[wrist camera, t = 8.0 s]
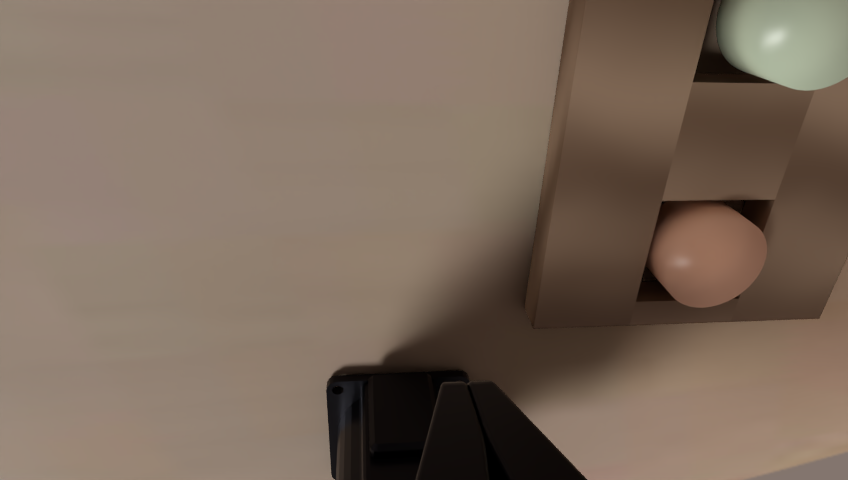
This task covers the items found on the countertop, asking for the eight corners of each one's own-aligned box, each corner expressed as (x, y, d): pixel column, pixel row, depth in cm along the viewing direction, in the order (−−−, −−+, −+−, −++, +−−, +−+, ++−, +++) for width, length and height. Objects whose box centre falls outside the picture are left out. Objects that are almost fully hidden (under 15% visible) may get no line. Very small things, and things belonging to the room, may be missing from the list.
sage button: (810, 74, 19) (864, 91, 17) (701, 72, 19) (744, 89, 17) (856, -56, 18) (924, -55, 15) (737, -61, 17) (790, -61, 15)
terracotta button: (715, 274, 25) (748, 306, 23) (629, 277, 24) (655, 309, 22) (743, 191, 23) (782, 217, 21) (650, 192, 23) (680, 219, 20)
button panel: (796, 299, 26) (819, 318, 25) (524, 307, 25) (533, 328, 23) (1138, -515, 14) (1219, -561, 13) (655, -588, 13) (689, -647, 12)
